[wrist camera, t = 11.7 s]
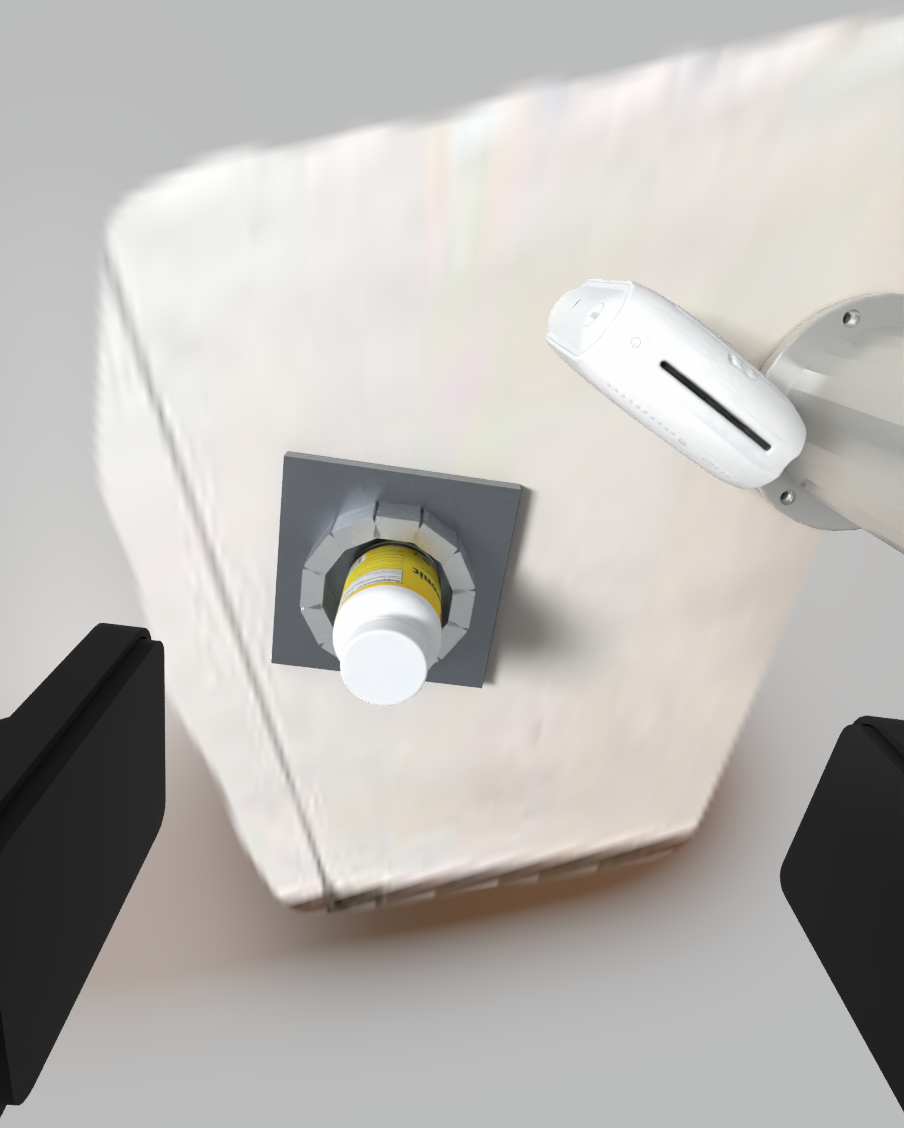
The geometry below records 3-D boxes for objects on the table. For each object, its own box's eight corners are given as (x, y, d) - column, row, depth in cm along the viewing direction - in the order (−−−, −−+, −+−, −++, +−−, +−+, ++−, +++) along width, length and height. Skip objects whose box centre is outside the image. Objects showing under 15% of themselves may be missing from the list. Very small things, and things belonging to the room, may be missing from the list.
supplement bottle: (449, 613, 42) (453, 709, 33) (360, 629, 42) (339, 729, 33) (431, 528, 39) (428, 607, 30) (337, 547, 40) (307, 629, 31)
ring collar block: (519, 484, 40) (526, 503, 36) (480, 679, 45) (484, 711, 41) (287, 451, 39) (273, 468, 35) (274, 654, 44) (262, 685, 40)
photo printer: (527, 336, 36) (568, 369, 25) (580, 263, 35) (648, 263, 24) (673, 448, 39) (771, 524, 28) (727, 384, 38) (853, 436, 26)
